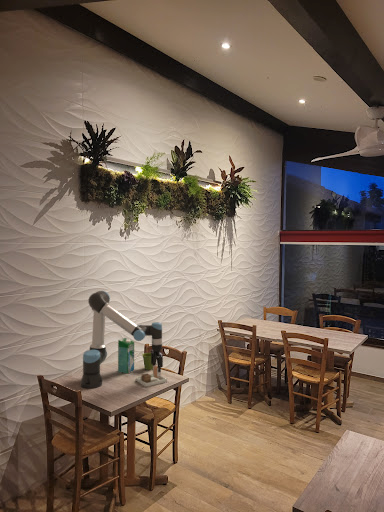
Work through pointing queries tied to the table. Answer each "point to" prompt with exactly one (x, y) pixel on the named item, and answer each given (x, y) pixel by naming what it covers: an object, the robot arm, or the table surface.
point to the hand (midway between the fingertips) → (156, 375)
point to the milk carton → (125, 355)
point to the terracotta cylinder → (155, 372)
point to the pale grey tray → (152, 381)
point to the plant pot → (147, 361)
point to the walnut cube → (146, 378)
